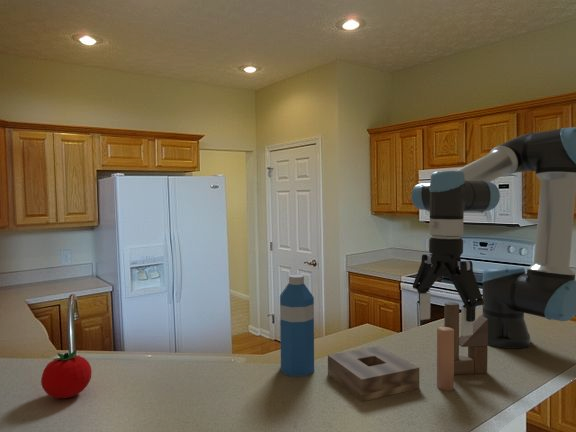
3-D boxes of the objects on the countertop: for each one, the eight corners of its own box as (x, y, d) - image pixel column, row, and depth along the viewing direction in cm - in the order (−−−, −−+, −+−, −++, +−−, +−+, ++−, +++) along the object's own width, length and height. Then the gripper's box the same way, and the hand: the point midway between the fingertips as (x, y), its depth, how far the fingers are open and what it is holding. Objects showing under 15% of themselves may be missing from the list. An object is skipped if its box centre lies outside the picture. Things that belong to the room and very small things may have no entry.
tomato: (58, 385, 103) (57, 345, 103) (100, 385, 103) (99, 345, 102) (31, 406, 93) (29, 362, 92) (77, 407, 92) (76, 362, 92)
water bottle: (318, 364, 114) (318, 273, 113) (309, 378, 106) (308, 280, 104) (286, 360, 117) (285, 272, 116) (274, 374, 109) (273, 278, 108)
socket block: (379, 363, 114) (379, 345, 114) (419, 388, 100) (419, 367, 99) (327, 373, 108) (327, 354, 108) (361, 401, 93) (361, 379, 93)
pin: (445, 382, 103) (445, 326, 102) (457, 389, 99) (457, 330, 98) (433, 385, 101) (433, 328, 100) (444, 392, 98) (445, 332, 97)
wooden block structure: (487, 373, 108) (488, 304, 107) (447, 375, 107) (447, 305, 106) (480, 367, 111) (480, 300, 110) (441, 369, 110) (441, 301, 109)
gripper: (399, 233, 109) (398, 314, 109) (476, 242, 86) (474, 345, 86) (422, 232, 111) (421, 311, 112) (503, 241, 88) (501, 340, 89)
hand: (444, 326), depth 99 cm, fingers open, 13 cm apart
